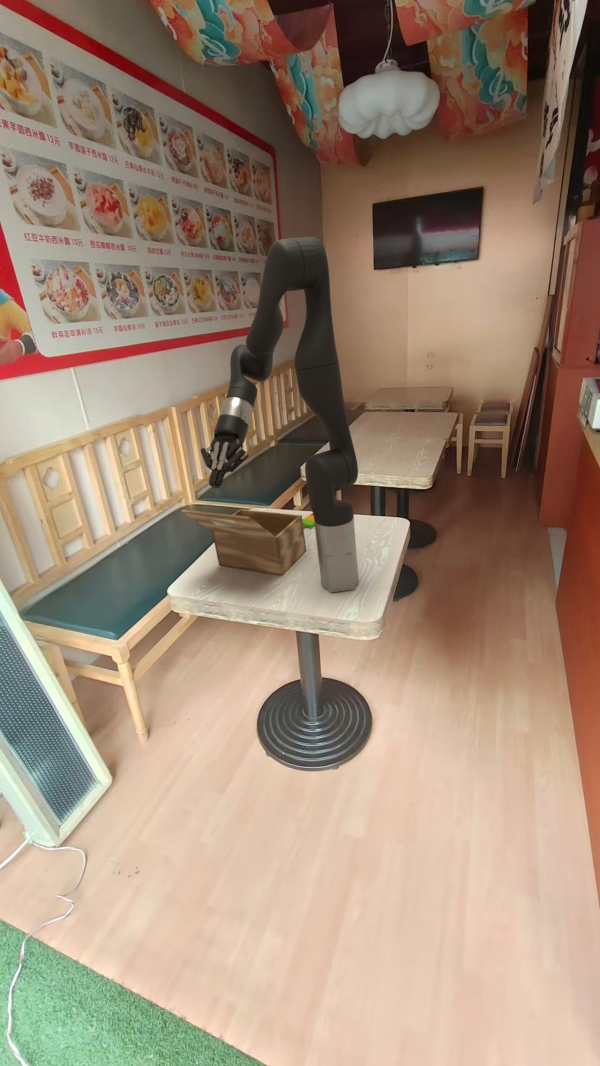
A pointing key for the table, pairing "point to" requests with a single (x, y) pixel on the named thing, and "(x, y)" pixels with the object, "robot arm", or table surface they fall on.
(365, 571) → the table surface
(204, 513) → the flap
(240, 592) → the table surface
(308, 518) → the popsicle
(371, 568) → the table surface
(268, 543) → the brown wooden box
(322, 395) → the robot arm
